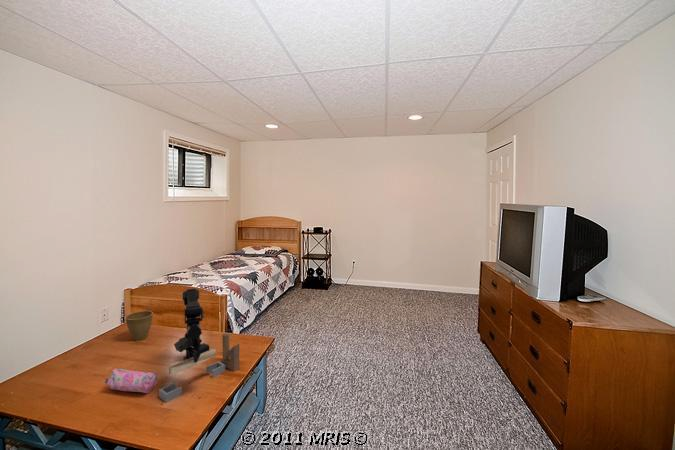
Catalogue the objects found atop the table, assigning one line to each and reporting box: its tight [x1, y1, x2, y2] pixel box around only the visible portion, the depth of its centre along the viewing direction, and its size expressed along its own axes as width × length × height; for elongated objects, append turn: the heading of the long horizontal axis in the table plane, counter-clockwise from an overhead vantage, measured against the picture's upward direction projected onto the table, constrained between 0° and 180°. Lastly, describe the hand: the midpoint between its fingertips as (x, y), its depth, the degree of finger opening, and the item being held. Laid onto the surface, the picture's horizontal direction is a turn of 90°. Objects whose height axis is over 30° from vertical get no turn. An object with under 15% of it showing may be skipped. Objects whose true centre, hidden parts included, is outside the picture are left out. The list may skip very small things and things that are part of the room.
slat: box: [168, 348, 217, 376], centre depth 141 cm, size 3×22×3 cm, turn 145°
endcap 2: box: [205, 360, 226, 378], centre depth 151 cm, size 6×7×4 cm
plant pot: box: [125, 310, 154, 342], centre depth 188 cm, size 15×15×16 cm
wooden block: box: [220, 332, 240, 372], centre depth 156 cm, size 4×11×18 cm, turn 60°
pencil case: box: [104, 368, 158, 394], centre depth 136 cm, size 21×9×9 cm, turn 80°
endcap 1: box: [158, 381, 183, 403], centre depth 132 cm, size 6×7×4 cm
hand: (193, 361), depth 141 cm, fingers closed on slat, 3 cm apart
